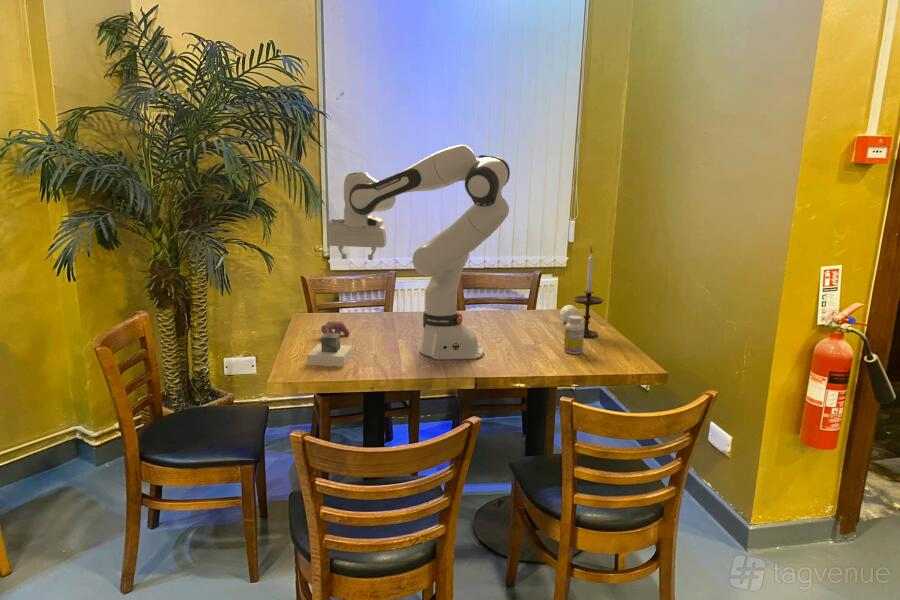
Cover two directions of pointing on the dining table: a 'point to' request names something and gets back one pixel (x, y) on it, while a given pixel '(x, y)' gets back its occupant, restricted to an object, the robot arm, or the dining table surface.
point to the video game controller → (337, 326)
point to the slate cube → (330, 342)
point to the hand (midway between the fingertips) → (357, 259)
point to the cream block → (330, 356)
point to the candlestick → (588, 299)
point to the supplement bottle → (574, 335)
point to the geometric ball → (568, 312)
